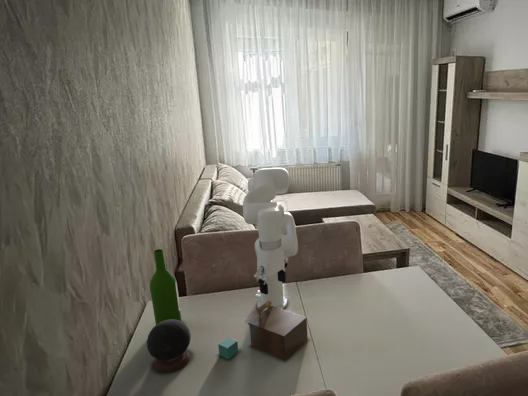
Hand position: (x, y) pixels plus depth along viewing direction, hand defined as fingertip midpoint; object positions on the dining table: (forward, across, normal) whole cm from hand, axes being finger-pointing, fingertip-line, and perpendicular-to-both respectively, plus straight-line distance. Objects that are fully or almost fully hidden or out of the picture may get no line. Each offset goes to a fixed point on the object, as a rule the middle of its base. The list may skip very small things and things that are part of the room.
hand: (273, 287), depth 138 cm
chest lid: (+12, +2, +3) cm, 13 cm away
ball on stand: (+21, +26, -23) cm, 41 cm away
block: (+21, +15, -9) cm, 27 cm away
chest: (+21, +2, +3) cm, 22 cm away
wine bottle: (+22, +14, -41) cm, 48 cm away
